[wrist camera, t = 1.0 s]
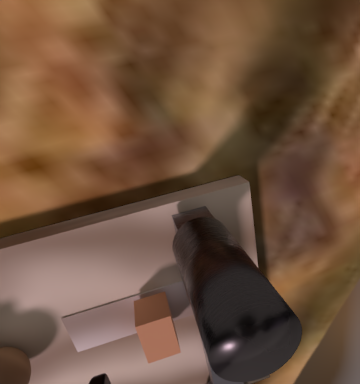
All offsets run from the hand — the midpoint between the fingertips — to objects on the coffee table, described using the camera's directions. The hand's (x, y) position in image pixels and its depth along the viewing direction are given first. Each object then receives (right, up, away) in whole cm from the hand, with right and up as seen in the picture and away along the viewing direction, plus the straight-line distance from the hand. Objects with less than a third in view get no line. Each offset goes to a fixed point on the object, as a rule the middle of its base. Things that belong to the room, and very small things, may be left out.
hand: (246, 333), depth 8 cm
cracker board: (-6, -5, +11) cm, 13 cm away
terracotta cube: (-4, -3, +8) cm, 10 cm away
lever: (0, -4, +10) cm, 11 cm away
